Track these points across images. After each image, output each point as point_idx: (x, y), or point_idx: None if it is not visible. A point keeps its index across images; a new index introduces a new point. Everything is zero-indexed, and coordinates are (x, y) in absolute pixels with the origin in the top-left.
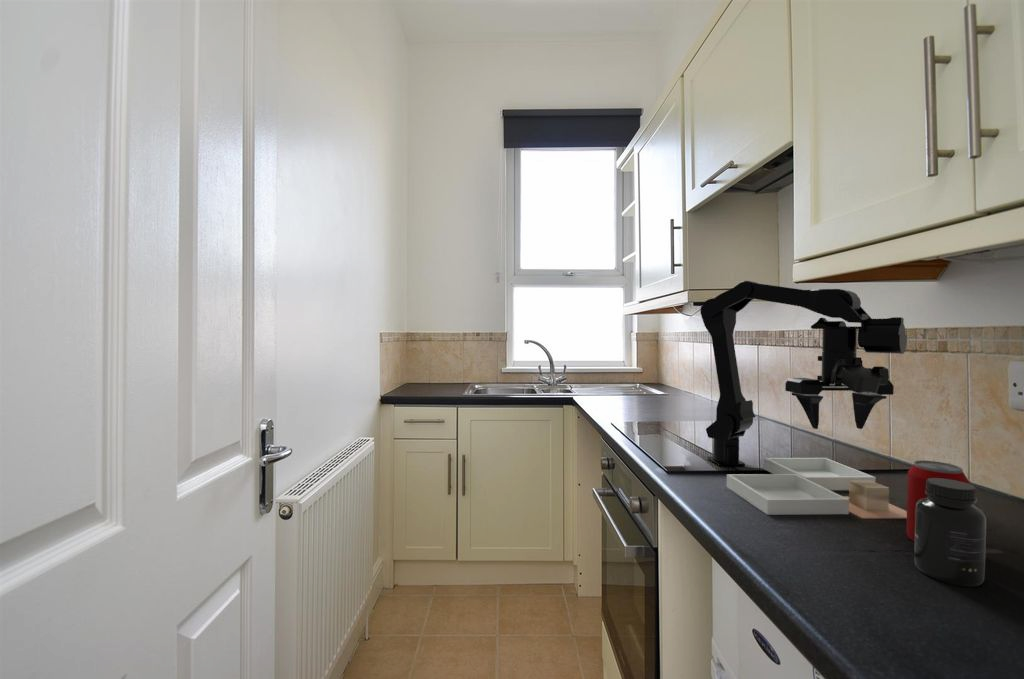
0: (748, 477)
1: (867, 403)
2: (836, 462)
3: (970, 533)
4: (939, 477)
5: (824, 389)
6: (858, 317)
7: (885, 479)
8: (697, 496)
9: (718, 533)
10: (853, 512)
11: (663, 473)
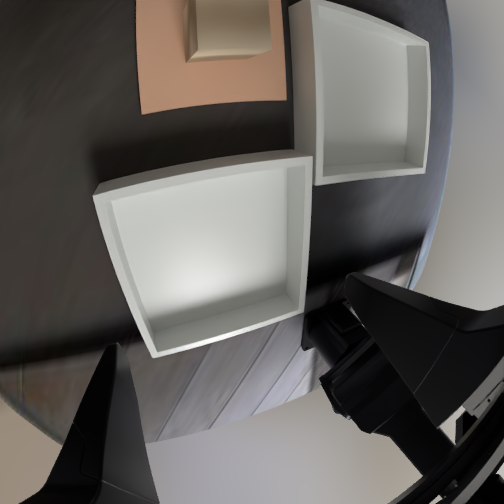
0: (399, 167)
1: (100, 493)
2: (141, 327)
3: None
4: None
5: (466, 446)
6: None
7: (38, 303)
8: (439, 135)
9: (449, 28)
10: (278, 6)
11: (427, 234)
